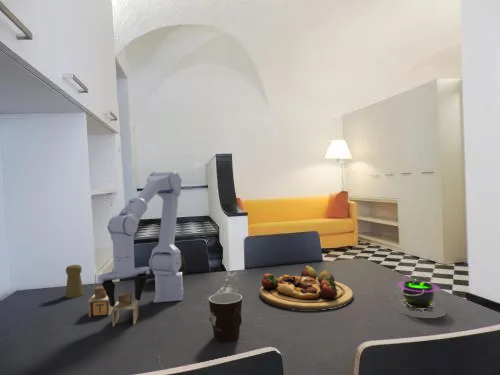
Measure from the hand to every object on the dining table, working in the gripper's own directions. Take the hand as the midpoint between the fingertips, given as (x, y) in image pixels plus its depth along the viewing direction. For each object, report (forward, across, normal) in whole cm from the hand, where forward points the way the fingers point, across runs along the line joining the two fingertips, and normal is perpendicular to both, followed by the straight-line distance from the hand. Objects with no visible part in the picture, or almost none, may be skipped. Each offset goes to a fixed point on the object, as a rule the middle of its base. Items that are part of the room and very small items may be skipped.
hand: (125, 302), depth 101 cm
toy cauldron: (+6, -69, +53) cm, 87 cm away
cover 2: (+6, 0, 0) cm, 6 cm away
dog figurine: (+6, -28, +12) cm, 31 cm away
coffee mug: (+6, -15, +30) cm, 34 cm away
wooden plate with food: (+6, -55, +20) cm, 59 cm away
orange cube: (+6, +3, -12) cm, 14 cm away
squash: (+6, -29, -30) cm, 42 cm away
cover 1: (+6, +3, -12) cm, 14 cm away
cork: (+6, +5, -38) cm, 39 cm away
